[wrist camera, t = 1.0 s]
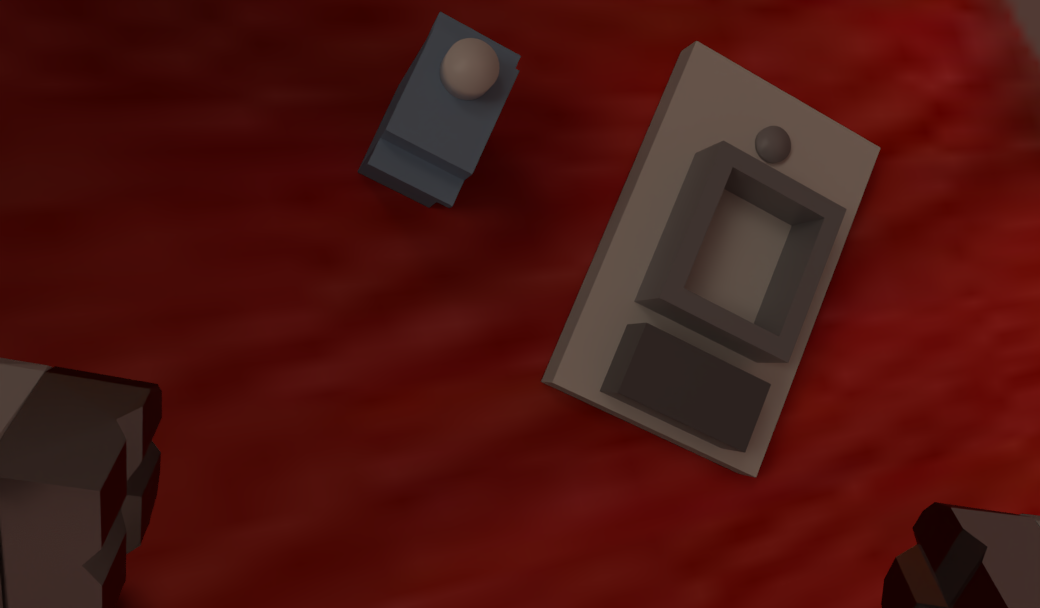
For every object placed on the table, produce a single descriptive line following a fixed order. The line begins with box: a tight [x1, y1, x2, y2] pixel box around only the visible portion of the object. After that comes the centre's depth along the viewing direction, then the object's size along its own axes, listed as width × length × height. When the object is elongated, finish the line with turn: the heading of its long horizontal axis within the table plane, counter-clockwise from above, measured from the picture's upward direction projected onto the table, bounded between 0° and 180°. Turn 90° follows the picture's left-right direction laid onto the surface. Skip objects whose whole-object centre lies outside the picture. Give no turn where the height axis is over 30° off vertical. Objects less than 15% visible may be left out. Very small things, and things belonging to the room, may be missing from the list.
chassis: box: [541, 41, 880, 477], centre depth 41 cm, size 16×10×4 cm, turn 156°
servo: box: [358, 12, 521, 208], centre depth 36 cm, size 6×3×8 cm, turn 156°
